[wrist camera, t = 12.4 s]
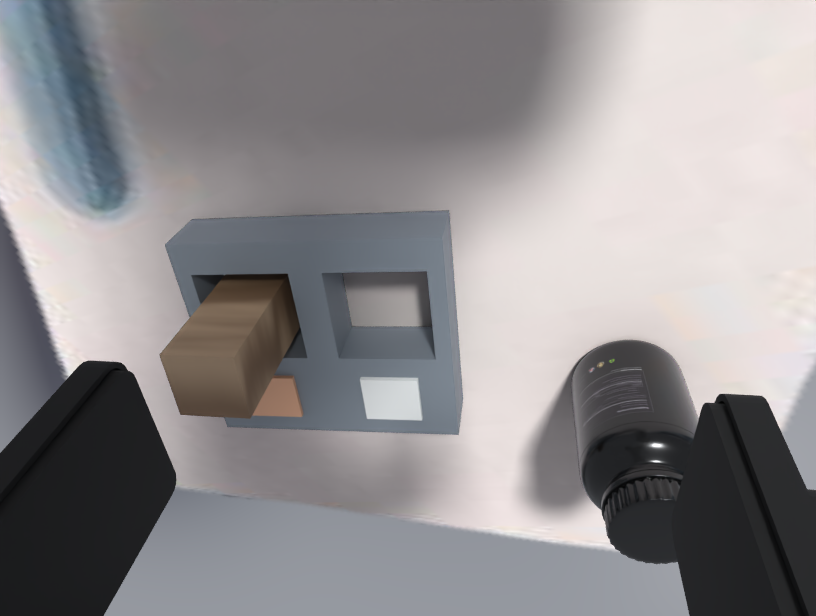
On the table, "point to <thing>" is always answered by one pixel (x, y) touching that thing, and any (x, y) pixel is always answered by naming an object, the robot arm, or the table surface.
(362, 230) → the socket block
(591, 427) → the supplement bottle
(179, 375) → the plug
